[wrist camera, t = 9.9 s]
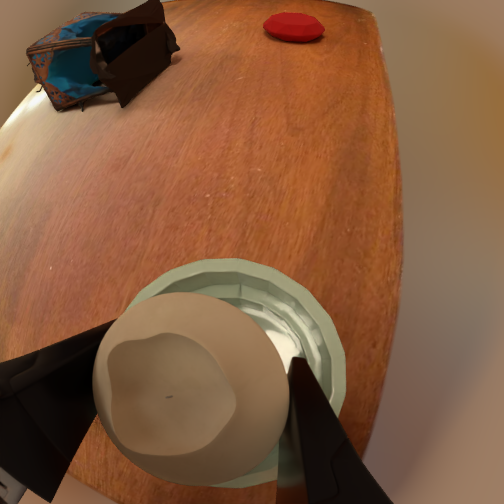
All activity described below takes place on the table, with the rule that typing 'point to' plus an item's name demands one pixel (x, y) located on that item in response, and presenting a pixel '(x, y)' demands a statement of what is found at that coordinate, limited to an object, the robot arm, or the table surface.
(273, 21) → the gemstone
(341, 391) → the bowl
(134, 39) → the lantern
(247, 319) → the candle
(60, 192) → the table surface
